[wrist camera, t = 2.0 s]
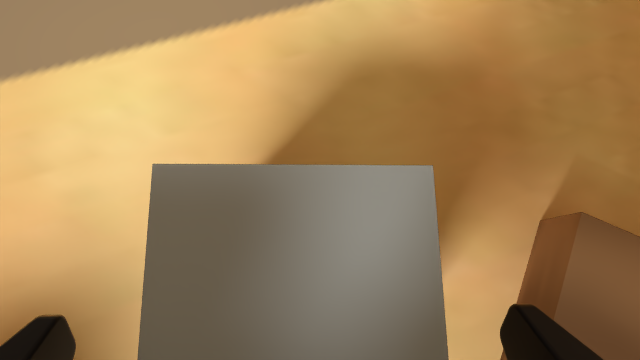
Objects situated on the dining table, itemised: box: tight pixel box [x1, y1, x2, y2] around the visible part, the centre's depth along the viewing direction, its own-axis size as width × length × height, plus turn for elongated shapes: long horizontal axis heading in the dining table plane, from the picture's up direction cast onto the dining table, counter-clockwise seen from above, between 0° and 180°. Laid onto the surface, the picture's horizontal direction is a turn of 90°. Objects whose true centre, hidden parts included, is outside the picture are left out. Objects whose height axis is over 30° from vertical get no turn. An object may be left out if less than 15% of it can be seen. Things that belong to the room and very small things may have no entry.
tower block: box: [138, 164, 449, 360], centre depth 12 cm, size 6×6×8 cm
